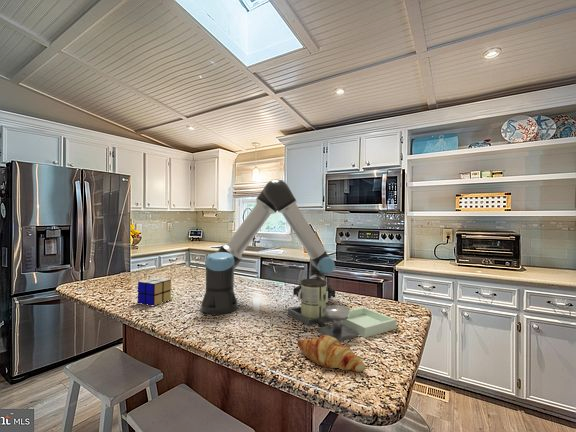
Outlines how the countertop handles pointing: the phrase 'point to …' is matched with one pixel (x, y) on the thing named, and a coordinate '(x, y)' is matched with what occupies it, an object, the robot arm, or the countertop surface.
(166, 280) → the puzzle cube
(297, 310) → the socket
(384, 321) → the tray
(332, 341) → the croissant
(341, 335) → the door knob
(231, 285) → the robot arm
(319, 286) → the coffee can
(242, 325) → the countertop surface
